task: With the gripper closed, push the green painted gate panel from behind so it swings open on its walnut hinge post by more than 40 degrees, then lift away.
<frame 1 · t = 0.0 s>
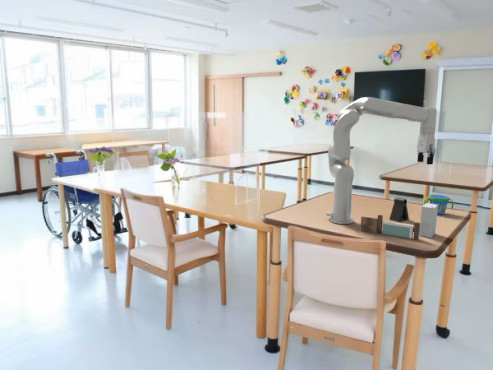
hand: (424, 163, 224), 31 cm above the table, tool pointing down, fingers open, 9 cm apart
door stopper: (399, 220, 229), on the table
gate: (397, 229, 199), point 3 cm above the table, hinge at 0.0°
skincare box: (427, 235, 202), on the table
gate posts: (379, 233, 205), on the table
snack cup: (437, 213, 242), on the table
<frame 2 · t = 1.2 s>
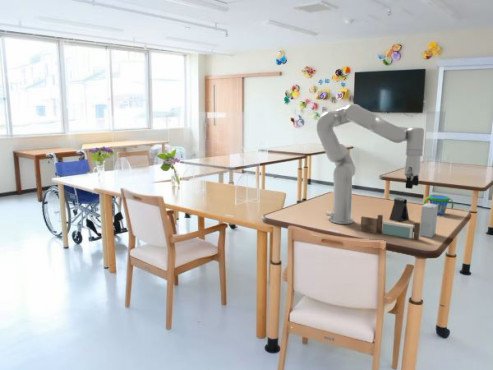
hand: (411, 186, 208), 22 cm above the table, tool pointing down, fingers open, 9 cm apart
nothing on the table moved.
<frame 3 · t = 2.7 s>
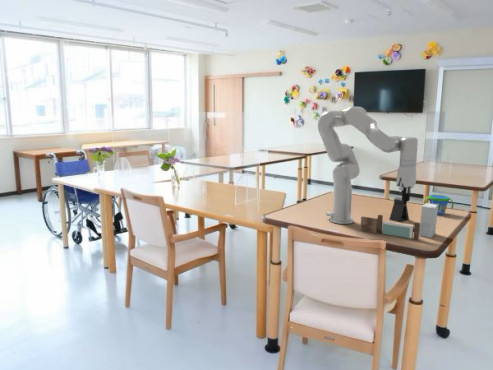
hand: (405, 200, 202), 16 cm above the table, tool pointing down, fingers closed
nothing on the table moved.
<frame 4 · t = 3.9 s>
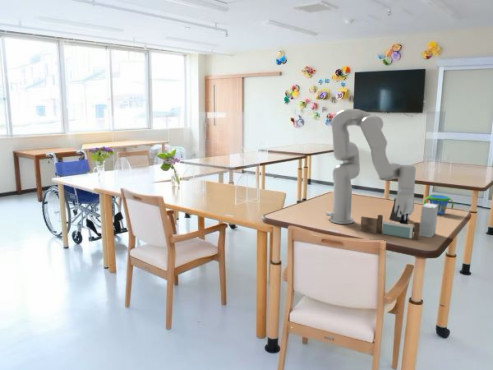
hand: (403, 227, 204), 3 cm above the table, tool pointing down, fingers closed
nothing on the table moved.
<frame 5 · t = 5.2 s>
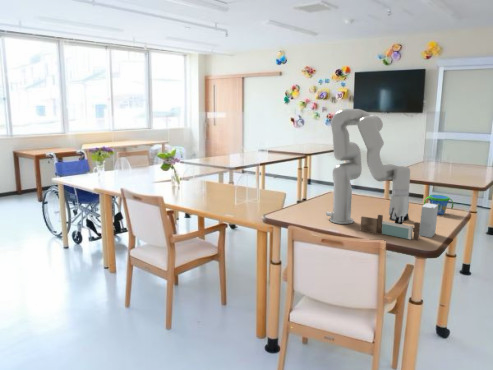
hand: (398, 229, 201), 3 cm above the table, tool pointing down, fingers closed
gate: (396, 230, 198), point 3 cm above the table, hinge at 7.1°, touching gripper
everything else where it was.
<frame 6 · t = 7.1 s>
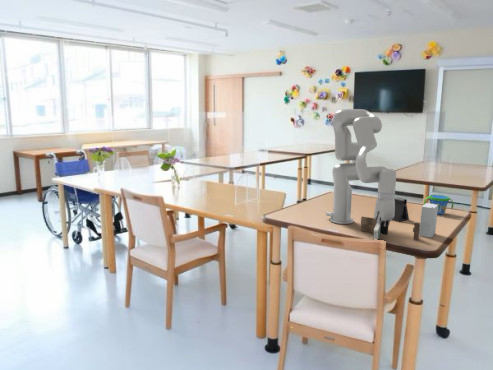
hand: (383, 234, 194), 3 cm above the table, tool pointing down, fingers closed
gate: (377, 231, 196), point 3 cm above the table, hinge at 79.2°, touching gripper
everything else where it was.
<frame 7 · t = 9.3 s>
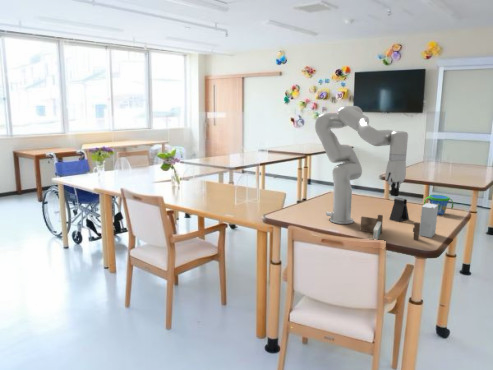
hand: (394, 195, 199), 19 cm above the table, tool pointing down, fingers closed
gate: (377, 231, 196), point 3 cm above the table, hinge at 79.8°
everything else where it was.
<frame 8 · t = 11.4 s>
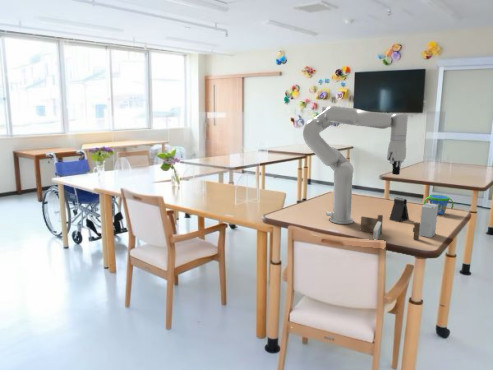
hand: (395, 174, 213), 27 cm above the table, tool pointing down, fingers closed
nothing on the table moved.
at the end: gate at +80° (first picture: +0°); skincare box moved 0.2 cm from its start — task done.
